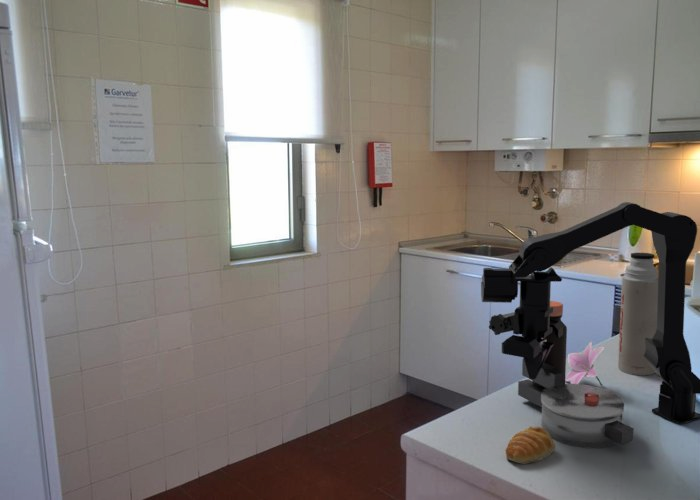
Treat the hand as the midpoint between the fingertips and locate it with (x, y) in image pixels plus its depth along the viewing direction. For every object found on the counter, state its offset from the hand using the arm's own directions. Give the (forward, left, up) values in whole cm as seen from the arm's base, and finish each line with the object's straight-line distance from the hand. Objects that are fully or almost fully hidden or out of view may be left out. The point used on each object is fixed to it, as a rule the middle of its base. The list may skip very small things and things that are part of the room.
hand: (532, 378), depth 118 cm
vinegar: (-9, -6, -7) cm, 13 cm away
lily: (-19, -5, -7) cm, 21 cm away
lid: (-3, +6, -2) cm, 7 cm away
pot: (-2, +8, -7) cm, 11 cm away
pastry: (+12, +13, -7) cm, 19 cm away
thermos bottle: (-37, -7, -7) cm, 39 cm away
